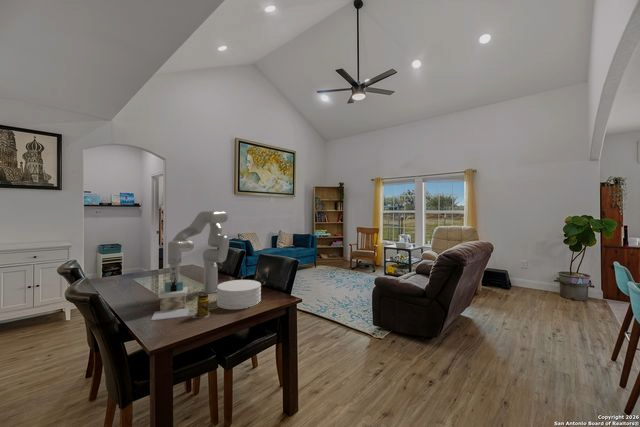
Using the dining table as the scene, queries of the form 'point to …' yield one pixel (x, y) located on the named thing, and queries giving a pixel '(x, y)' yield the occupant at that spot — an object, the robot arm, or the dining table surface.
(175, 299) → the crate
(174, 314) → the mat
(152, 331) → the dining table surface
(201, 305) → the condiment
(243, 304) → the plate stack
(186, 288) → the lid
